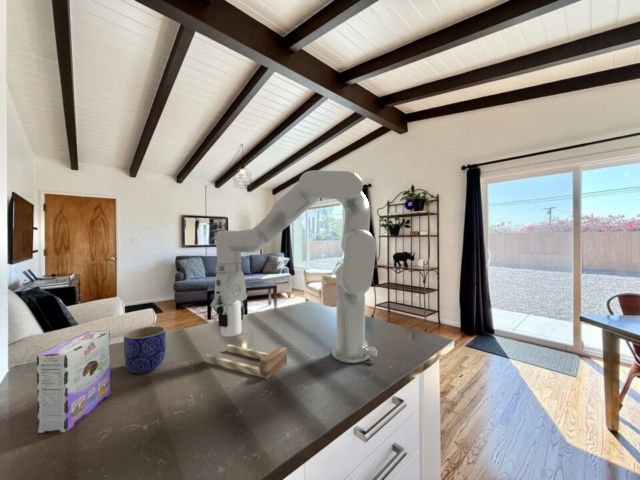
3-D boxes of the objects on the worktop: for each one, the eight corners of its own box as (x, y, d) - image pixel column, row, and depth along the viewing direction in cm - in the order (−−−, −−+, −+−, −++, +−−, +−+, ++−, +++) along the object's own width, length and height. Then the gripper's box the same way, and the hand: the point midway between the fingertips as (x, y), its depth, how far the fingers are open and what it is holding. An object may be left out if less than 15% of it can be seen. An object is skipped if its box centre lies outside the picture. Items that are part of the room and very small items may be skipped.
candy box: (87, 395, 70) (86, 330, 70) (112, 394, 71) (111, 330, 71) (35, 434, 57) (34, 353, 56) (66, 432, 57) (65, 353, 57)
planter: (174, 362, 89) (174, 327, 88) (144, 379, 78) (144, 339, 78) (147, 358, 92) (146, 324, 91) (114, 374, 81) (114, 335, 81)
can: (238, 337, 88) (236, 299, 88) (217, 337, 88) (216, 299, 88) (244, 330, 94) (242, 294, 94) (225, 330, 95) (223, 295, 94)
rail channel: (286, 363, 88) (286, 347, 88) (266, 378, 79) (266, 361, 78) (228, 349, 98) (228, 335, 98) (205, 361, 89) (205, 346, 89)
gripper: (217, 272, 82) (219, 333, 82) (255, 265, 97) (257, 316, 97) (199, 271, 85) (201, 330, 85) (238, 265, 100) (240, 314, 101)
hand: (231, 322), depth 91 cm, fingers closed on can, 6 cm apart
